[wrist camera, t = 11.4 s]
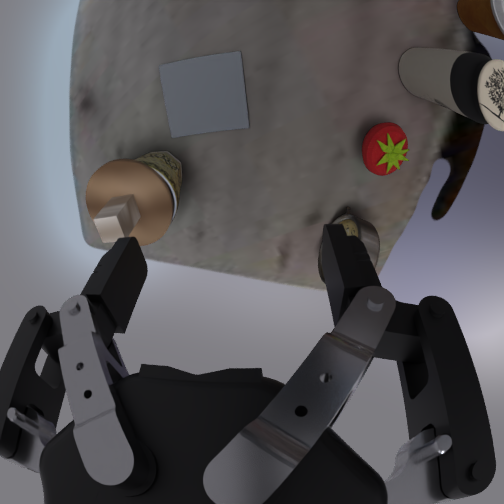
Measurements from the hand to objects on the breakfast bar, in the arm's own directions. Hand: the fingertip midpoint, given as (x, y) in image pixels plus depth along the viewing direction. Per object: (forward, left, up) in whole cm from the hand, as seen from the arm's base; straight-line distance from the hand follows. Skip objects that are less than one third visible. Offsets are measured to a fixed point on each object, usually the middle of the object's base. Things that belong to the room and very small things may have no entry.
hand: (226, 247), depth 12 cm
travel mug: (-7, +25, -30) cm, 40 cm away
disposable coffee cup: (-20, +36, -30) cm, 51 cm away
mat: (-3, -6, -30) cm, 31 cm away
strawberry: (+4, +17, -30) cm, 35 cm away
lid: (+7, -16, -20) cm, 26 cm away
